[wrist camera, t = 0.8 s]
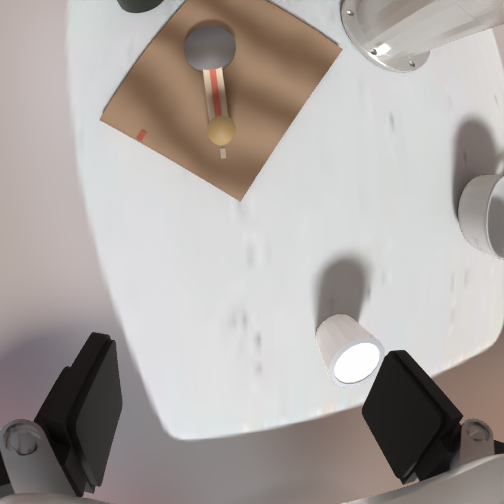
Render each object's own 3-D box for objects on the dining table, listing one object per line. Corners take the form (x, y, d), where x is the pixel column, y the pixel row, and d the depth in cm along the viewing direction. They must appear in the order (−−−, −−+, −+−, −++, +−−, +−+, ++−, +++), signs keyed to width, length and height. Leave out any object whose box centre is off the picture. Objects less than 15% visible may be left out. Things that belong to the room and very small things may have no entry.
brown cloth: (211, -21, 24) (211, -26, 23) (339, 52, 28) (342, 49, 27) (102, 121, 27) (99, 119, 26) (239, 200, 31) (240, 201, 30)
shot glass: (309, 359, 38) (326, 393, 31) (311, 313, 36) (330, 344, 29) (357, 350, 39) (380, 380, 32) (362, 305, 37) (389, 332, 30)
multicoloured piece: (182, 34, 25) (179, 18, 21) (231, 28, 25) (234, 11, 21) (196, 150, 28) (193, 147, 24) (247, 142, 29) (253, 139, 25)
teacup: (442, 244, 36) (482, 261, 28) (450, 164, 33) (493, 169, 25) (497, 244, 38) (532, 258, 30) (505, 177, 35) (542, 184, 27)
